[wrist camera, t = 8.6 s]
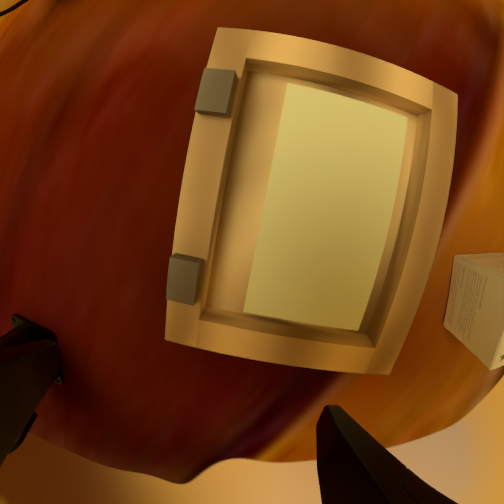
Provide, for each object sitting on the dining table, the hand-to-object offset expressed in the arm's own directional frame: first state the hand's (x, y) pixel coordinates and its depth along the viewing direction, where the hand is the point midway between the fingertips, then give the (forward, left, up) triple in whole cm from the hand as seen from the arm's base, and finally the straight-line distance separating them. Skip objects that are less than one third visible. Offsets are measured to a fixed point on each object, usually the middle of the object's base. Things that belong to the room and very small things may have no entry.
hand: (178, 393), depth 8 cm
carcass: (+4, +6, -11) cm, 13 cm away
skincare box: (+19, +3, -12) cm, 23 cm away
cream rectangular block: (+4, +6, -10) cm, 13 cm away
